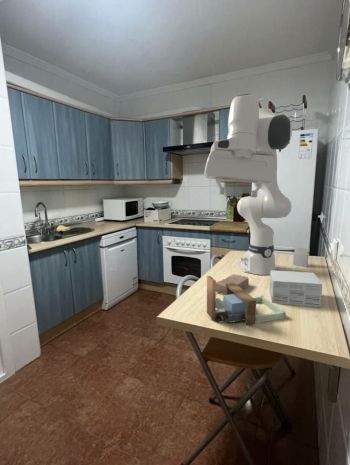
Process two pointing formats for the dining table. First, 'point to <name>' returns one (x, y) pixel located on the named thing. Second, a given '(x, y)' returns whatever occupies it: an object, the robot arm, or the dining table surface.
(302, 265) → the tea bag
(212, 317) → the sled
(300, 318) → the dining table surface
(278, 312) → the green hollow frame
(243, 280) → the brick
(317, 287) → the supplement box
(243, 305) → the block
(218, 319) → the dark grey flat block
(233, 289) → the tunnel
